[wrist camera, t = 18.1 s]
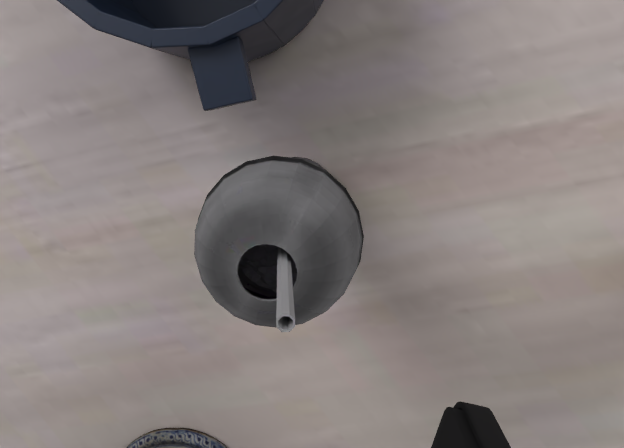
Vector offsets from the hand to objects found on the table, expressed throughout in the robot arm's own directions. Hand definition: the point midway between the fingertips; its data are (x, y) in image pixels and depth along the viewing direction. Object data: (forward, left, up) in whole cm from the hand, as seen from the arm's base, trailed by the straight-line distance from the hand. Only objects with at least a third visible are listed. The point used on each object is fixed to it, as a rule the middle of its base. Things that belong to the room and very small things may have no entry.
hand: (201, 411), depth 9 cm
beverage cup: (0, 0, -23) cm, 23 cm away
